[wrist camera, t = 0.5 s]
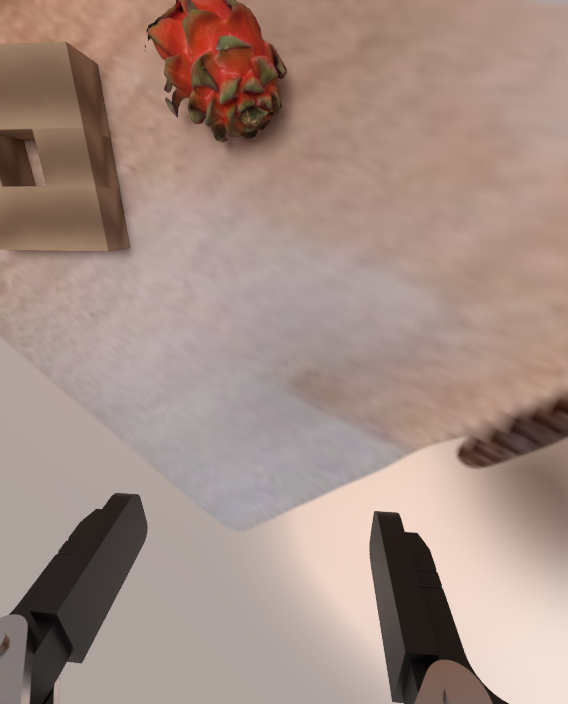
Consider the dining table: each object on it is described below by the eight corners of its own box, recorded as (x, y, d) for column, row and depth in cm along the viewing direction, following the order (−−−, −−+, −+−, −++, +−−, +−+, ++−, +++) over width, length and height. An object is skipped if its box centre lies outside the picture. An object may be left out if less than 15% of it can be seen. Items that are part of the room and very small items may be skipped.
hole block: (-43, 69, 30) (-93, 48, 27) (97, 63, 29) (65, 41, 25) (12, 246, 36) (-21, 249, 33) (129, 247, 35) (108, 251, 32)
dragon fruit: (289, 143, 32) (189, 75, 32) (323, 32, 24) (194, -56, 24) (241, 179, 27) (125, 99, 27) (266, 56, 20) (107, -52, 20)
